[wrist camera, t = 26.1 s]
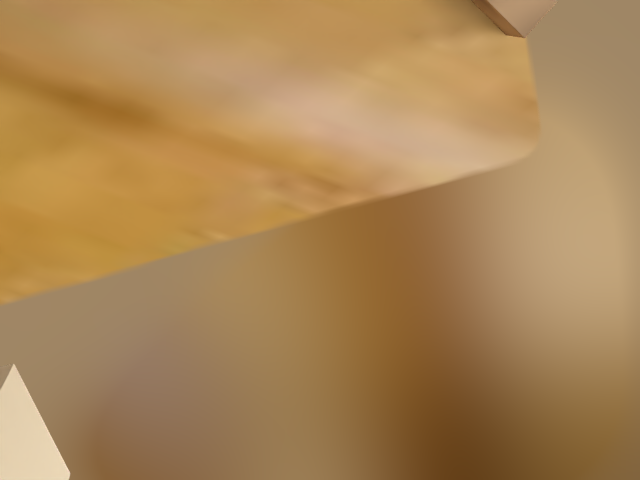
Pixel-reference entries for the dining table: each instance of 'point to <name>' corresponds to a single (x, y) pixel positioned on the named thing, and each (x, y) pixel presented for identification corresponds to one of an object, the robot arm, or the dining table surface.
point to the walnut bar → (515, 14)
